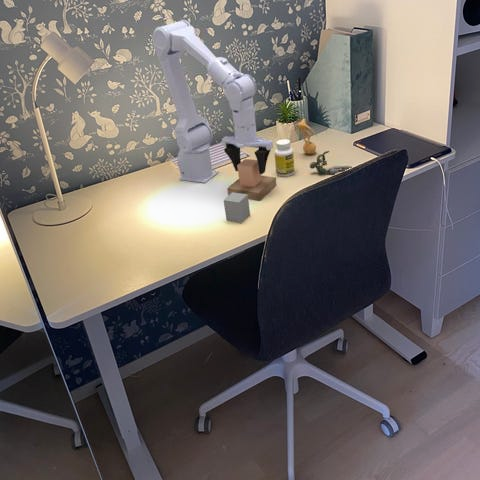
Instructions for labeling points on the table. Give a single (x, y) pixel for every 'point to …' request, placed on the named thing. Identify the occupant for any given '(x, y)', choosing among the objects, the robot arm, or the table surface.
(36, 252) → the table surface
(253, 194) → the walnut slab
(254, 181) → the terracotta block
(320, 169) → the zombie figurine
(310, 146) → the figurine
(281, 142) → the supplement bottle
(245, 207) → the medium grey block
